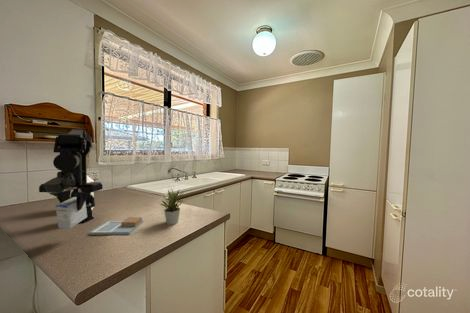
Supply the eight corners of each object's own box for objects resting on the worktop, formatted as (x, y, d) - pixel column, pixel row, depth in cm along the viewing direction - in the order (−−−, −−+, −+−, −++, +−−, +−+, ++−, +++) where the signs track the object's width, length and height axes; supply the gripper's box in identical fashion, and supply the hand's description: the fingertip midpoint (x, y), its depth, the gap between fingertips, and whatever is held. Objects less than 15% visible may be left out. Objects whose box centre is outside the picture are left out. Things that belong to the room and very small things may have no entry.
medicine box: (76, 217, 73) (73, 196, 72) (87, 217, 74) (85, 196, 72) (58, 228, 66) (54, 205, 64) (71, 228, 66) (67, 205, 64)
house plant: (196, 220, 91) (196, 187, 90) (175, 231, 78) (175, 193, 78) (175, 215, 97) (175, 184, 97) (152, 224, 85) (152, 189, 84)
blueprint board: (88, 235, 74) (87, 227, 74) (108, 222, 87) (108, 216, 87) (128, 234, 75) (128, 227, 75) (143, 222, 87) (142, 216, 87)
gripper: (20, 170, 60) (22, 218, 61) (79, 171, 61) (80, 218, 61) (53, 167, 71) (54, 207, 72) (103, 167, 72) (103, 207, 72)
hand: (72, 210), depth 69 cm, fingers closed on medicine box, 4 cm apart
